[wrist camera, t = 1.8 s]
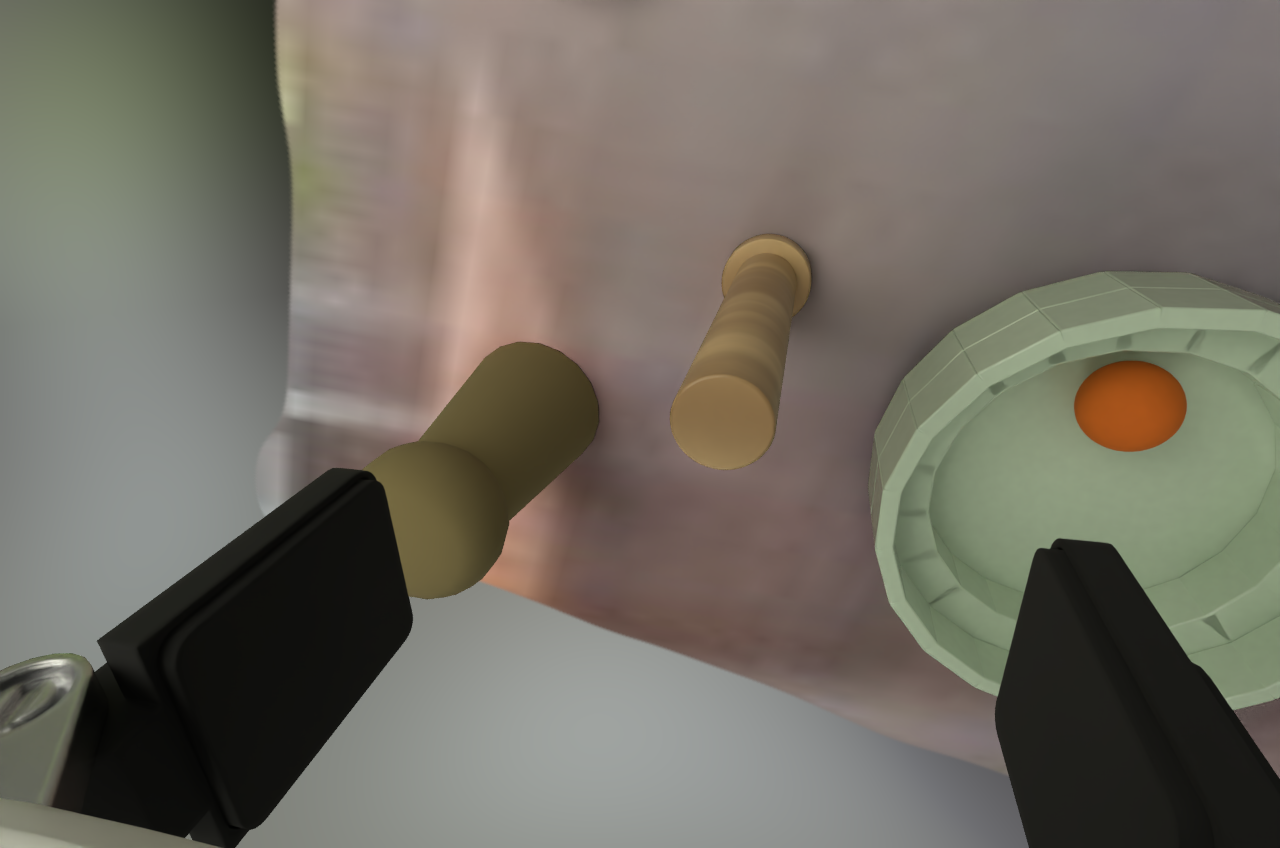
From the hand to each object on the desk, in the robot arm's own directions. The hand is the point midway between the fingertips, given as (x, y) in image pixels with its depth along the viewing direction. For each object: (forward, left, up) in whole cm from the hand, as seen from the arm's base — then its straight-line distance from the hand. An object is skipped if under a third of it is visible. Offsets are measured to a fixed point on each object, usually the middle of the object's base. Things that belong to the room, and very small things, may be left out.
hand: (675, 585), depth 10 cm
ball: (+3, +12, -16) cm, 20 cm away
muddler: (0, 0, -18) cm, 18 cm away
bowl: (+7, +12, -18) cm, 23 cm away
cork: (+6, -10, -18) cm, 21 cm away
